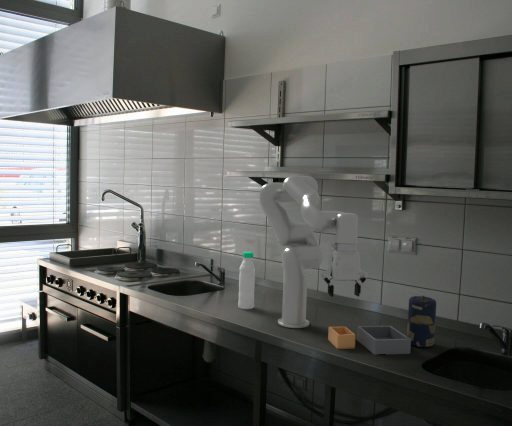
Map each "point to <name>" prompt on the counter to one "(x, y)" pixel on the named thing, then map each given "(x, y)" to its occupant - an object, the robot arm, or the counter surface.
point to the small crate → (341, 337)
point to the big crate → (383, 340)
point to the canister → (421, 321)
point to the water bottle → (246, 282)
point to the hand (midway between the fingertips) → (344, 295)
